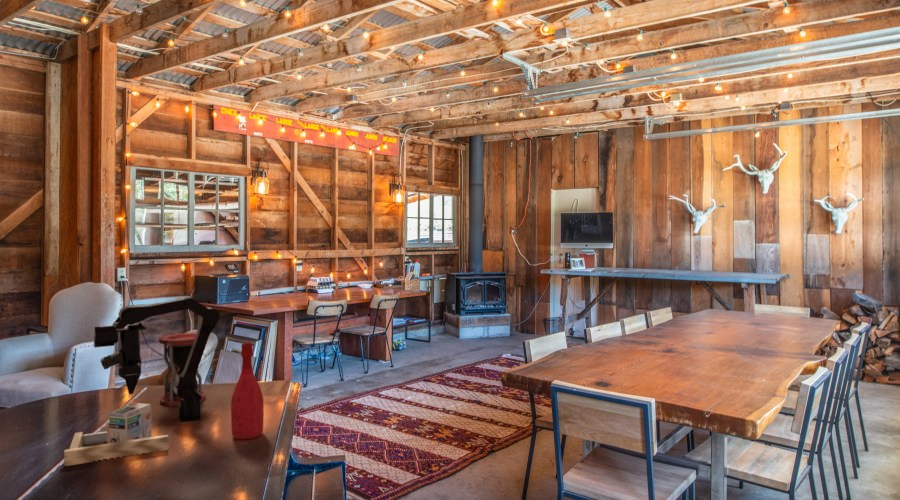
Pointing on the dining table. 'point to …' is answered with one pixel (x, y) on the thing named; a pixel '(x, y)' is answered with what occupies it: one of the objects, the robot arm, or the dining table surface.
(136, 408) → the light bulb box
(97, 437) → the lip
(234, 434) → the wine bottle
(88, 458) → the wall board
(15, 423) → the dining table surface
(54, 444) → the dining table surface
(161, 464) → the dining table surface
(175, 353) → the hourglass
